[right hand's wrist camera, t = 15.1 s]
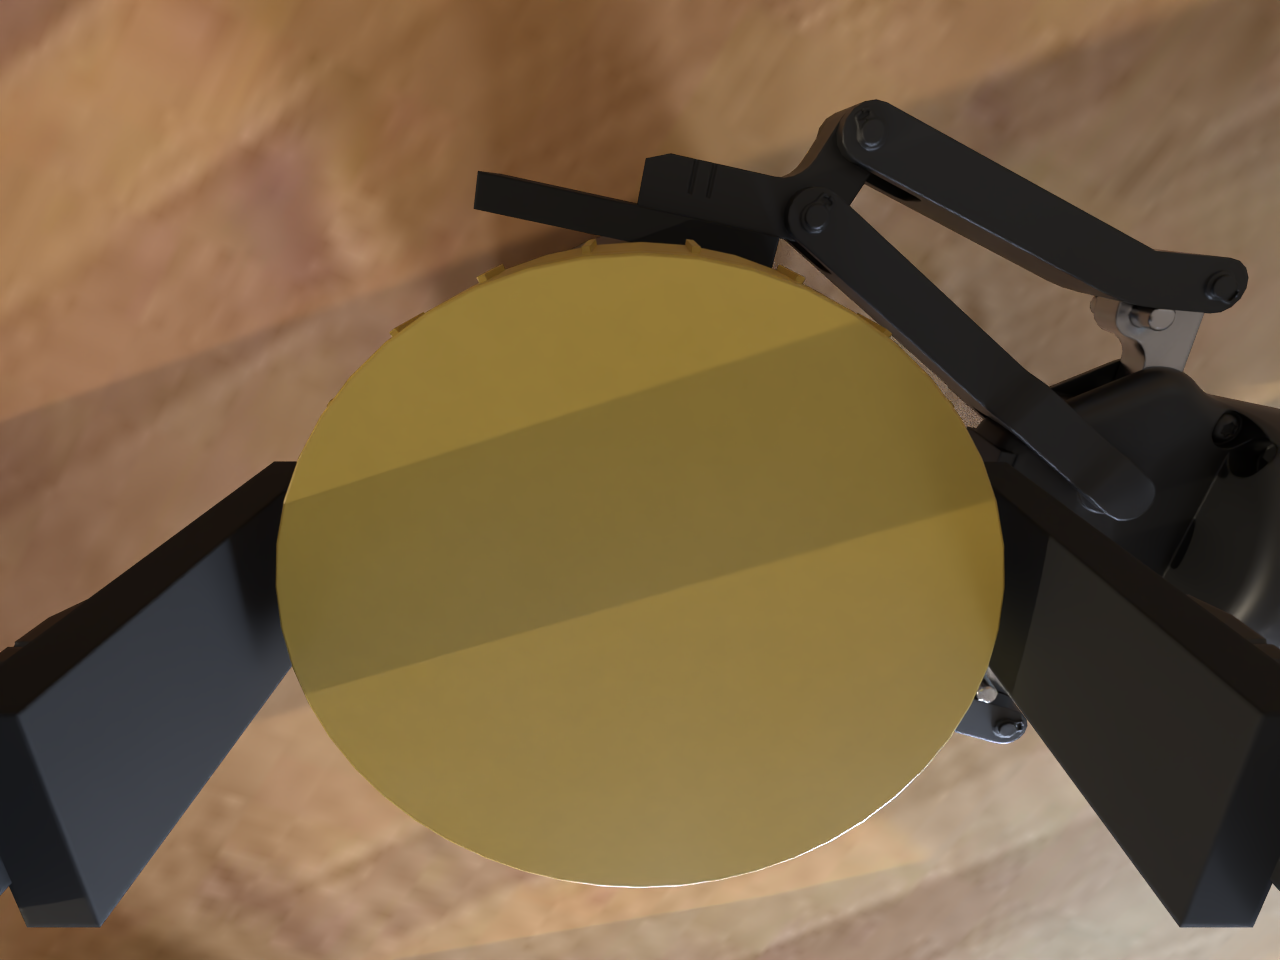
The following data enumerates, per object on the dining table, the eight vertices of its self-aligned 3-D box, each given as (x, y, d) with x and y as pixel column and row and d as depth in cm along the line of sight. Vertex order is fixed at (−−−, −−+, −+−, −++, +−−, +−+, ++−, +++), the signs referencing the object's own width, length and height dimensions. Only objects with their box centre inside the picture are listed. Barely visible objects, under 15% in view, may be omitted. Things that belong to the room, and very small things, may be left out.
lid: (1077, 565, 12) (1154, 629, 10) (639, 882, 15) (638, 977, 13) (641, 64, 9) (640, 35, 8) (201, 564, 12) (127, 627, 10)
